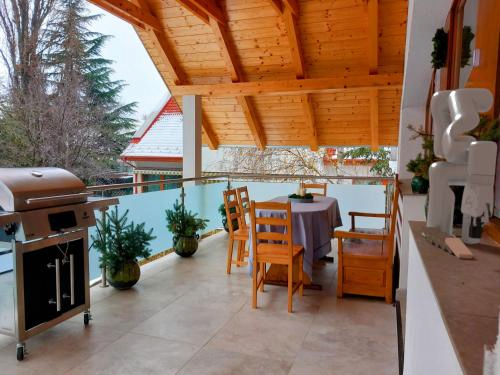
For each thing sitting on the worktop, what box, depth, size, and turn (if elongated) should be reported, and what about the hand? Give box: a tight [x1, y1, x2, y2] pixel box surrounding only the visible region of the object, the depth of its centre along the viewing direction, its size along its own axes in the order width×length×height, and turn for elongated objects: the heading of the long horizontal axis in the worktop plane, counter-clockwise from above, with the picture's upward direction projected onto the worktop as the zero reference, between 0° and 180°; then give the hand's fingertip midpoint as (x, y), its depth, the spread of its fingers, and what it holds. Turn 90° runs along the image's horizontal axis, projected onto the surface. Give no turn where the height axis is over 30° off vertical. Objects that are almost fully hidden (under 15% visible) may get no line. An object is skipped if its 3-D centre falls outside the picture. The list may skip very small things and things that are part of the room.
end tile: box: [445, 237, 474, 260], centre depth 131 cm, size 2×5×10 cm
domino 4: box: [439, 234, 455, 255], centre depth 135 cm, size 2×5×10 cm
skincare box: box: [460, 213, 480, 245], centre depth 150 cm, size 6×4×12 cm
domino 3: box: [433, 232, 448, 252], centre depth 140 cm, size 2×5×10 cm
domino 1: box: [421, 226, 436, 245], centre depth 149 cm, size 2×5×10 cm
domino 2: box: [427, 229, 441, 248], centre depth 145 cm, size 2×5×10 cm
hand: (474, 237), depth 121 cm, fingers closed
